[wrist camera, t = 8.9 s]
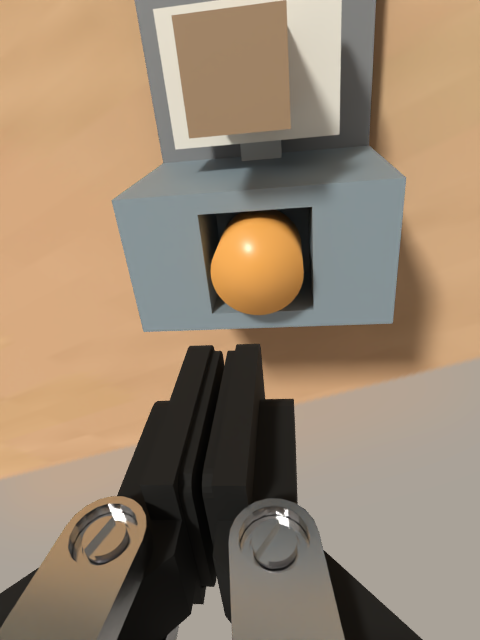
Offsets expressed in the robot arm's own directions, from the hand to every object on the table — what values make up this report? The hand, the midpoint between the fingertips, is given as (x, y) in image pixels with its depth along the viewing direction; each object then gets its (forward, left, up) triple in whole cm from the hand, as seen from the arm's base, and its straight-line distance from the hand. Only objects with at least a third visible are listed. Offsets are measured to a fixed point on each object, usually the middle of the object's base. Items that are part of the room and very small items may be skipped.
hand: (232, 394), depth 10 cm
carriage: (0, -7, -15) cm, 17 cm away
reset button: (0, 0, -10) cm, 10 cm away
